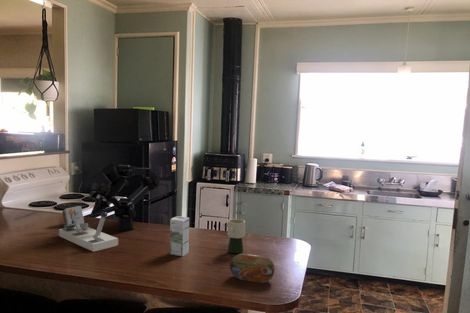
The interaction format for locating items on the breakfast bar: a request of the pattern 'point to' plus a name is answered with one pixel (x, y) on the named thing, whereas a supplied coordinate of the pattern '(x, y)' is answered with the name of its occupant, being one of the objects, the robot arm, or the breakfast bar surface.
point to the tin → (252, 268)
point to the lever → (100, 226)
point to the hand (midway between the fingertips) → (92, 214)
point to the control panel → (88, 238)
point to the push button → (84, 226)
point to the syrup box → (179, 236)
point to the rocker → (69, 226)
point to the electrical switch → (77, 212)
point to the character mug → (236, 235)
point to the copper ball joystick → (75, 220)
